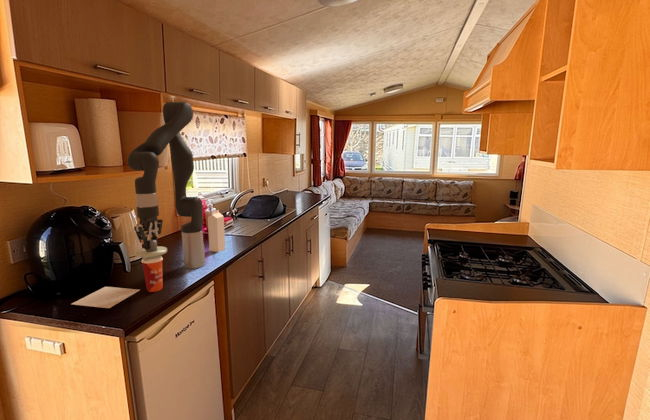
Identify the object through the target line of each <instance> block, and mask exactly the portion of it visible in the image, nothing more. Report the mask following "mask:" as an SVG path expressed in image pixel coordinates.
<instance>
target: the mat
mask: <svg viewBox="0 0 650 420" xmlns="http://www.w3.org/2000/svg"><path fill="white" fill-rule="evenodd" d="M139 291H141V289H137V288H136V289H134V288H125V287H114V286H104V287H101V288H100V289H98V290H95V291H94V292H92V293H89V294H88V295H86V296H84V297H82V298H80V299H78V300H77V301H74V302H72V303H71V305H75V306H82V307H84V306H85V307H95V308H101V309H102V308H103V309H110V308H112V307H114V306H115V305H117V304H119V303H120V302H122V301H124V300H126V299H127V298H130V297H132V296H133V295H134V294H136V293H137V292H139Z"/></svg>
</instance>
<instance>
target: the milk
mask: <svg viewBox="0 0 650 420" xmlns="http://www.w3.org/2000/svg"><path fill="white" fill-rule="evenodd" d="M207 228H208V245H209V246H208V247H209V252H214V253H220V252H223V251H225V250H226V235H225V233H226V232H225V217H224V215H223V214H222V213H220V210H219V209H217V210H213V211H211V215H209V216H207ZM224 249H225V250H224ZM219 251H220V252H219Z"/></svg>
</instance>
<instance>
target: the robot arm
mask: <svg viewBox="0 0 650 420" xmlns="http://www.w3.org/2000/svg"><path fill="white" fill-rule="evenodd" d="M162 117H163V120H164V124H163V125H160V127H158V128H155V130H153V131H152V132H151V133H150V135H149V136H148V137H147V138H146V139H145V141H144V142H143V143H141V144H139V145H138V146H136V147H135V148H134V149H133V150H132V151H130V153H129V154H128V156H127V160H126V163H127V166H128V167H129V169H131V170H132V171H138V172H139V171H142V172H143V175H142V176H140V177H136V178H135V180H134V189H135V206H136V207H135V209H136V217H137V218H139V224H138V225H137V226H136V225H135V226H133V230H134V231H135V233H136V237H137V239H138V241H142V242H143V248H144V249H145V250H150V249H151V247H150V239H156V241H157V246H159V244H158V243H159V241H158V237H159V235H162V229H163V222H164V221H163V219H162V218H161V219H158V217H159V216H160V211H159V200H158V198H159V197H158V194H157V185H156V182H157V177H158V176H157V175H158V170H159V167H160V166H159V164H160V162H159V158H158V156H160V155H161V154H163V152H164V150H166V148H167V146H168V145H169V153H170V161H171V168H172V175H173V176H172V177H173V182H174V183H173V184H174V201H175V202H174V204H175V205H174V206H175V210H176V214H177V215H178V216H179V217H182V218H183V217H187V218H188V217H189V218H190V219H191V220H190V222H186V223H184V224H182V225H181V227H180V228H181V241H182V243H181V244H182V256H183V267H184V268H185V269H189V270H192V269H199V268H202V267H204V266H205V265H206V264H205V263H206V258H205V257H206V254H205V244H204V235H203V234H204V231H203V224H204V217H203V215H204V214H203V213H204V212H203V210H204V205H203V201H202V199H201V198H200V197H197V196H187V185H188V182H189V181H190V179H191V177H192V175H193V173H194V169H195V164H194V163H195V162H194V155H193V152H192V151H191V148H190V146H189V145H188V144H187V143H186V141H185V140H184V139H183V137H182V135H181V133H180V132H181V131H182V130H183V129H185V127H186V126H188V125H189V124H190V123H191V122H192V120H193V117H194V110H193V107H192V106H191V104H190V103H188V102H186V101H167V102H165V103H164V104H163V106H162Z"/></svg>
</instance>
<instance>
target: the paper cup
mask: <svg viewBox="0 0 650 420" xmlns="http://www.w3.org/2000/svg"><path fill="white" fill-rule="evenodd" d="M141 258H142V259H141V260H140V261H141V263H142V269H143V275H144V279H145V280H144V281H145V286H146V291H147V292H149V293H152V292H153V293H154V292H155V293H156V292H159V291H162V289H163V285H164V284H163V283H164V282H163V280H164V279H163V260H164V258H163V255H160V256H155V257H141Z"/></svg>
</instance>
